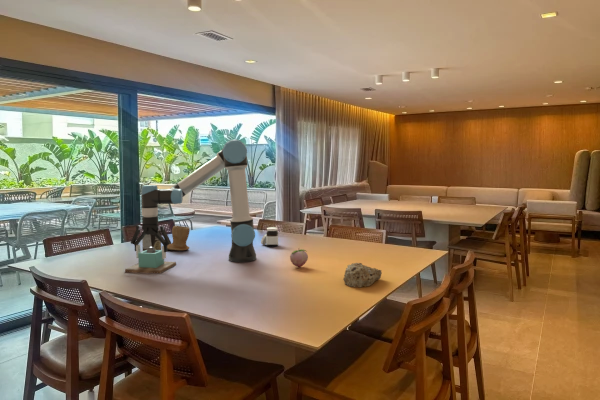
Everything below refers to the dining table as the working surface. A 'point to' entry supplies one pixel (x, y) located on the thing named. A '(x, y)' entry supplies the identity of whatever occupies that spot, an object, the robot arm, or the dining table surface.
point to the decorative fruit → (299, 257)
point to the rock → (360, 275)
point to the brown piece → (179, 238)
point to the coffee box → (151, 242)
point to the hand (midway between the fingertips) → (151, 258)
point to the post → (151, 250)
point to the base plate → (159, 269)
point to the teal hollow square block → (150, 259)
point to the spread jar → (270, 237)
